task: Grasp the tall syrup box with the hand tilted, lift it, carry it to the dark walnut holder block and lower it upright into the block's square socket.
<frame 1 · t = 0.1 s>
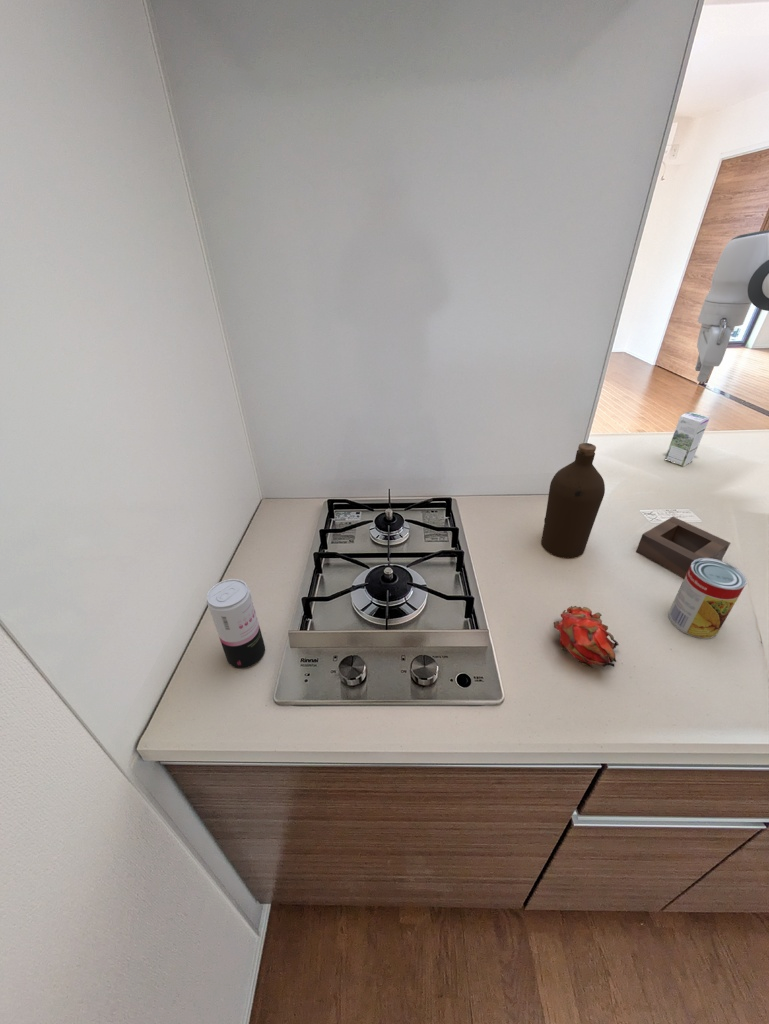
hand: (699, 375, 107), 29 cm above the worktop, tool pointing down, fingers open, 8 cm apart
canned food: (692, 622, 80), on the worktop
dragon fruit: (581, 652, 75), on the worktop
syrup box: (677, 461, 132), on the worktop
holder: (677, 556, 95), on the worktop
olive oil: (562, 546, 100), on the worktop
beverage can: (246, 655, 77), on the worktop
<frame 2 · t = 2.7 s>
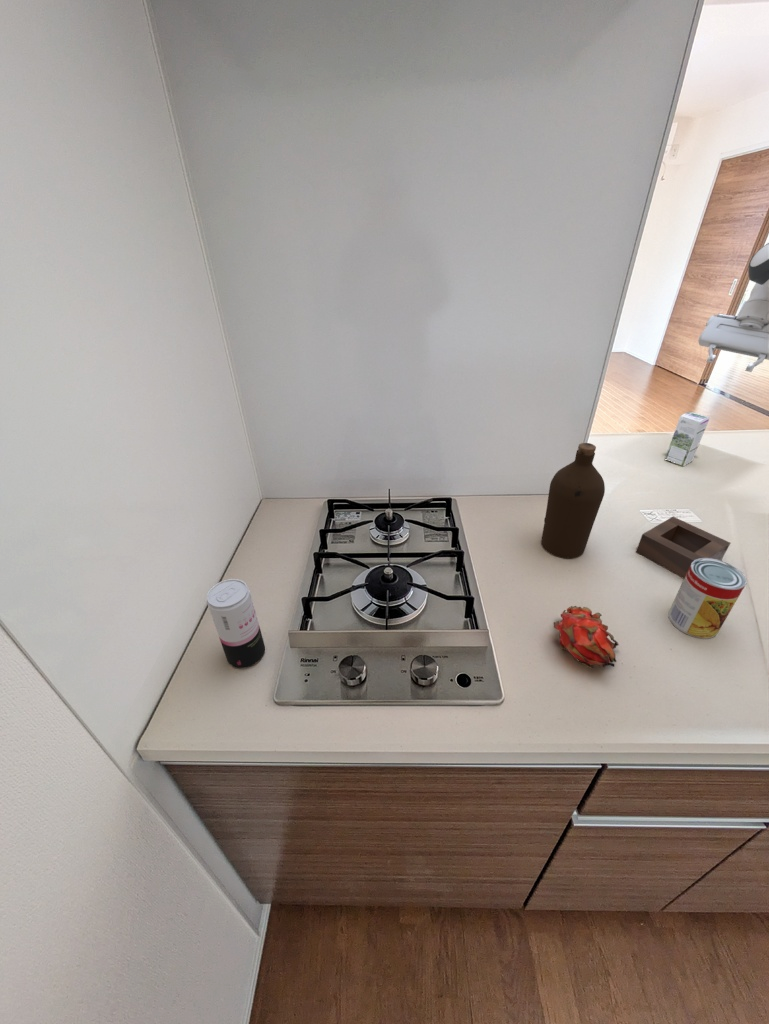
hand: (728, 366, 120), 27 cm above the worktop, tool tilted 40°, fingers open, 8 cm apart
nothing on the worktop moved.
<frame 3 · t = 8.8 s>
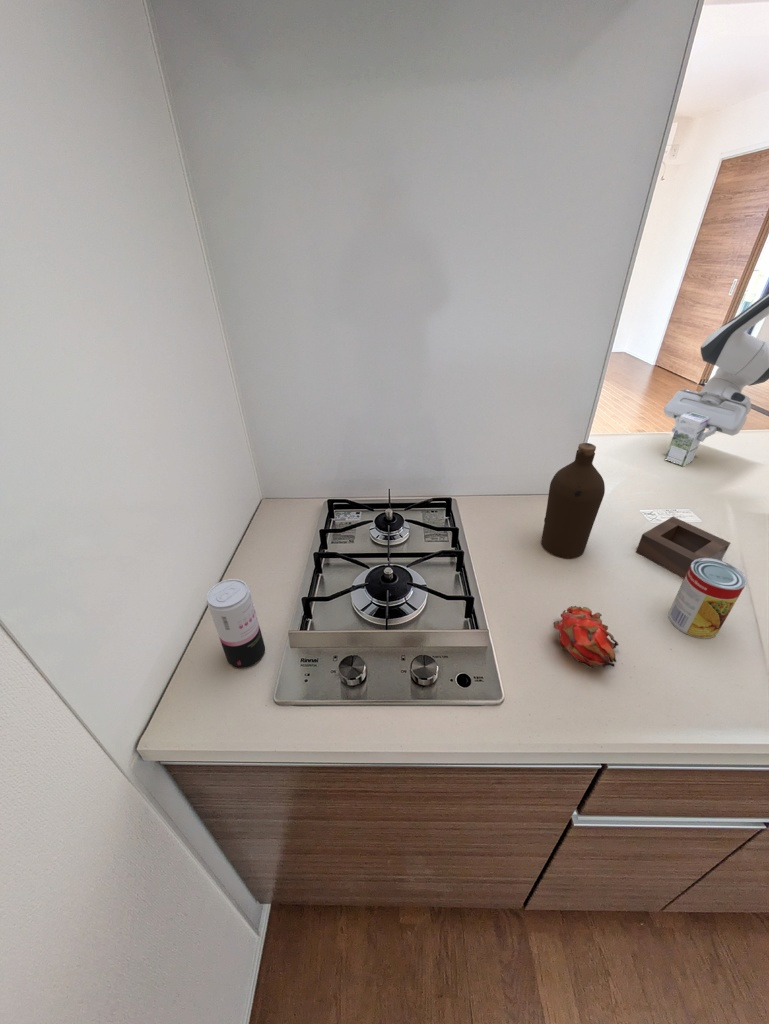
hand: (686, 436, 127), 8 cm above the worktop, tool tilted 45°, fingers closed on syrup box, 6 cm apart
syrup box: (677, 461, 132), on the worktop, touching gripper
everything else where it was.
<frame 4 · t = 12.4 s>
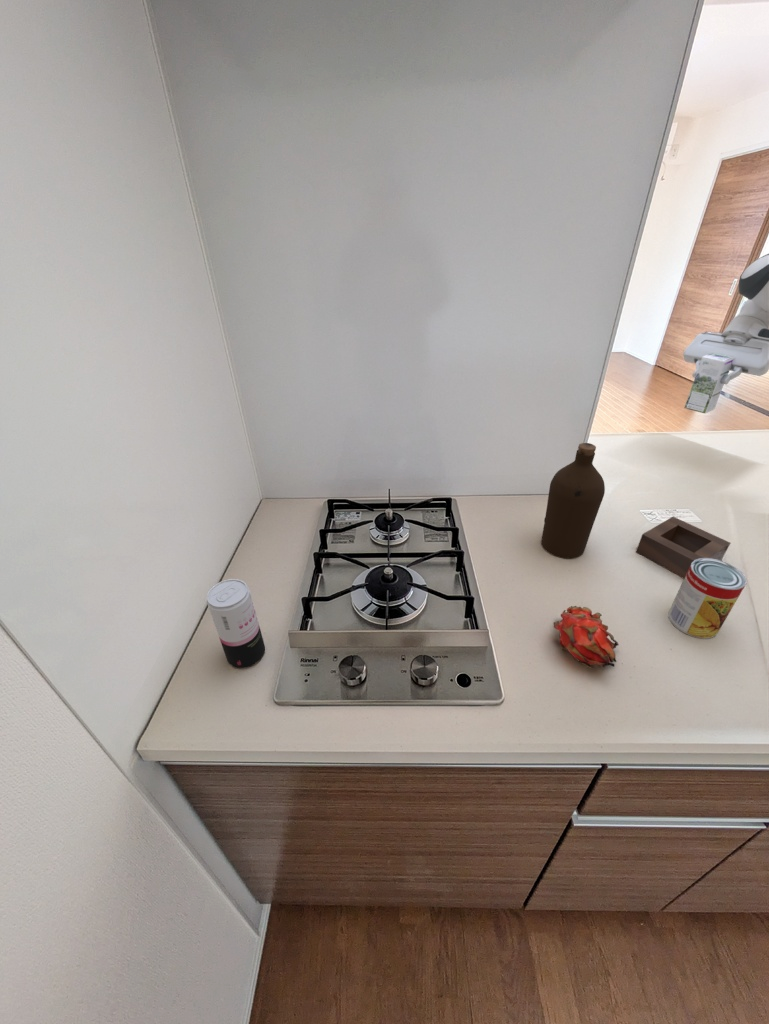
hand: (709, 379, 118), 25 cm above the worktop, tool tilted 45°, fingers closed on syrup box, 6 cm apart
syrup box: (698, 409, 123), point 16 cm above the worktop, touching gripper
everything else where it was.
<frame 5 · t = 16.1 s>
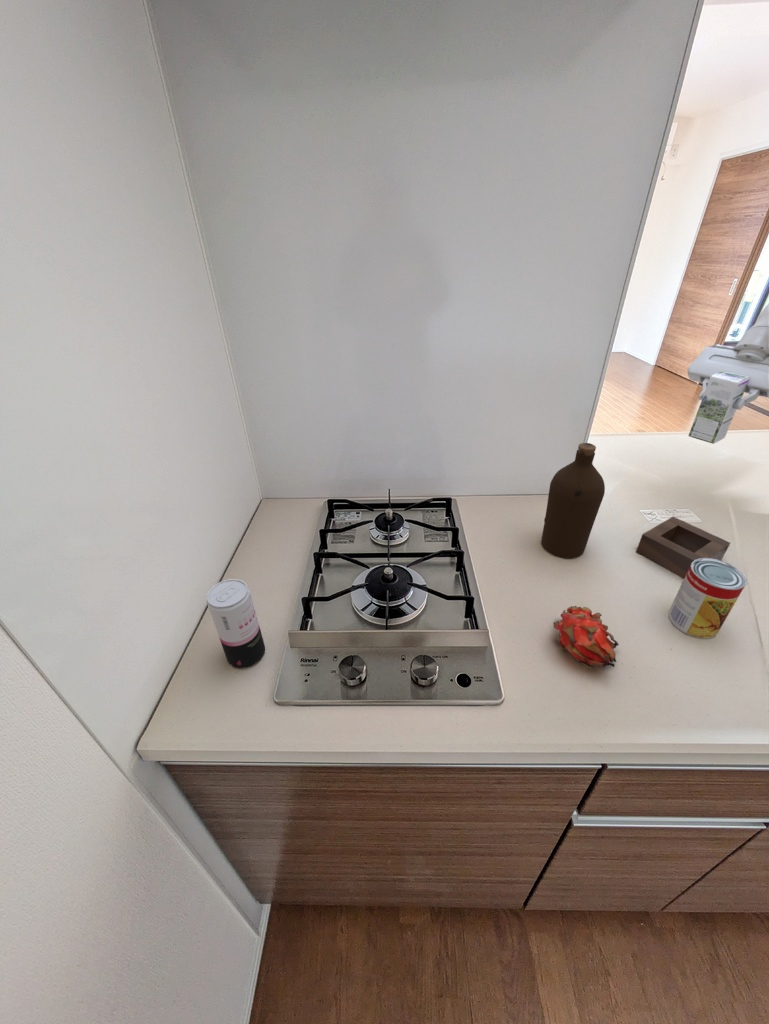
hand: (718, 403, 97), 27 cm above the worktop, tool tilted 45°, fingers closed on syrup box, 6 cm apart
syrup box: (705, 438, 102), point 19 cm above the worktop, touching gripper
everything else where it was.
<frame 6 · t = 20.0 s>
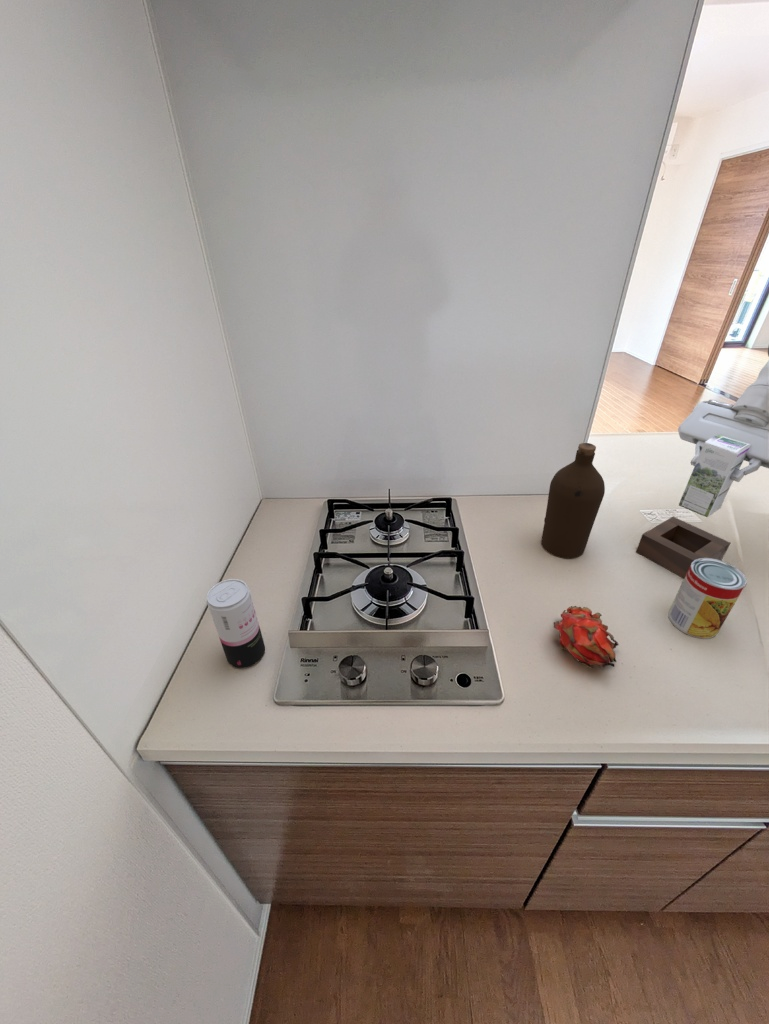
hand: (713, 472, 83), 21 cm above the worktop, tool tilted 45°, fingers closed on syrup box, 6 cm apart
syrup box: (698, 508, 88), point 13 cm above the worktop, touching gripper
everything else where it was.
when the fingers open (8 cm above the worktop, at t = 23.4 s): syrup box stays where it is, resting in holder.
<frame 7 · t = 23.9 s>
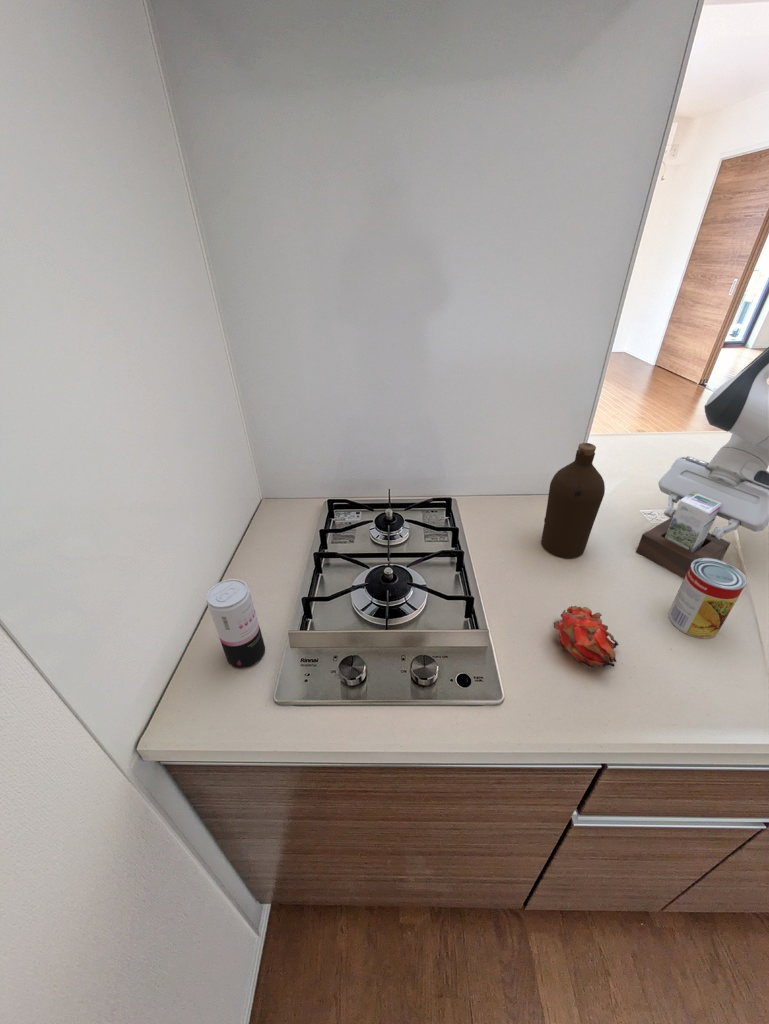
hand: (690, 526, 90), 8 cm above the worktop, tool tilted 45°, fingers open, 8 cm apart
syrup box: (676, 557, 96), resting in holder
everything else where it was.
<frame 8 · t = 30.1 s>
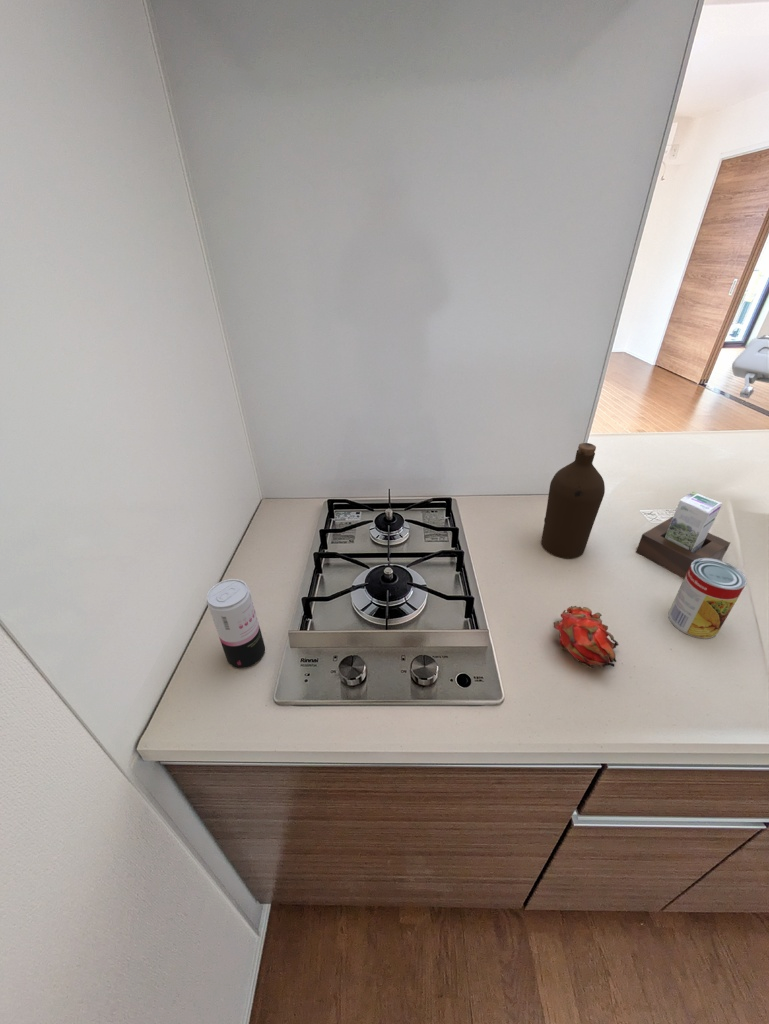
nothing on the worktop moved.
at the end: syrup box 0.1 cm off-centre in the holder, point 0.0 cm above the holder's base; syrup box tilted 0°; the gripper is holding nothing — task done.
